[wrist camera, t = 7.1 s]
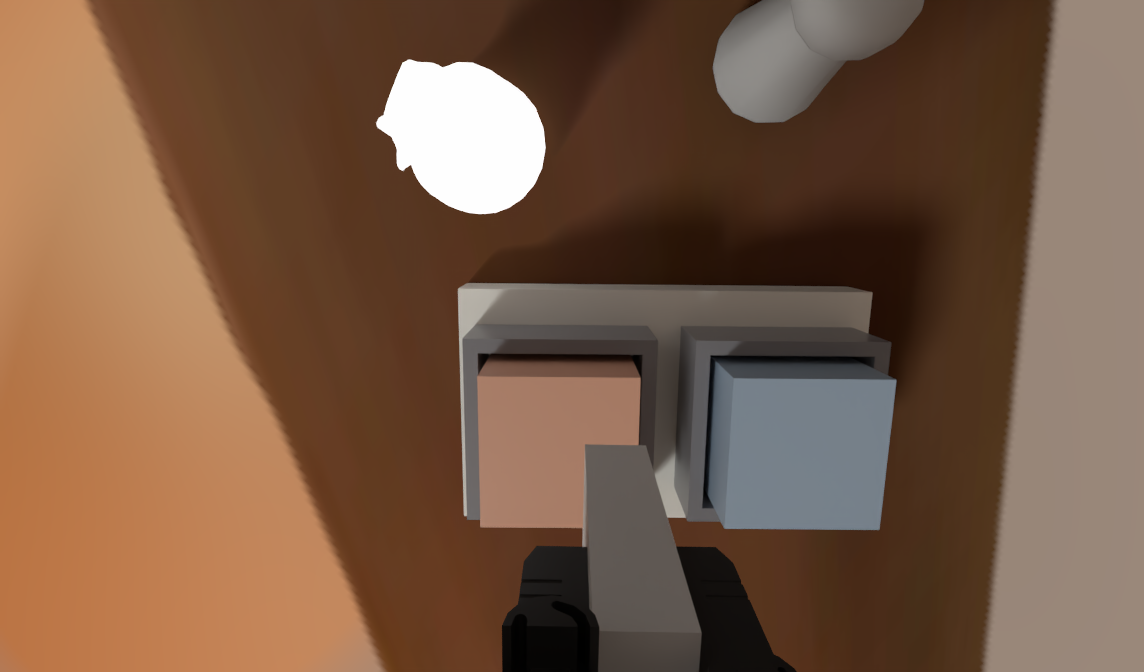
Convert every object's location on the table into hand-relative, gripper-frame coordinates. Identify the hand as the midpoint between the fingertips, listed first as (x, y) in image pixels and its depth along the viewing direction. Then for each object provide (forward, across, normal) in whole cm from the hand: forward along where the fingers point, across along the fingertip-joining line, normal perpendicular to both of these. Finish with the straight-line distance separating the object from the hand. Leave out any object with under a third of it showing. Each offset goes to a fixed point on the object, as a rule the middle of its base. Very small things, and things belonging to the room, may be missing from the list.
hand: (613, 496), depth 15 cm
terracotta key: (+16, -2, -4) cm, 16 cm away
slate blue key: (+16, +9, -4) cm, 19 cm away
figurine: (+21, -6, +10) cm, 24 cm away
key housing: (+21, +4, -4) cm, 21 cm away
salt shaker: (+21, +9, +14) cm, 27 cm away
